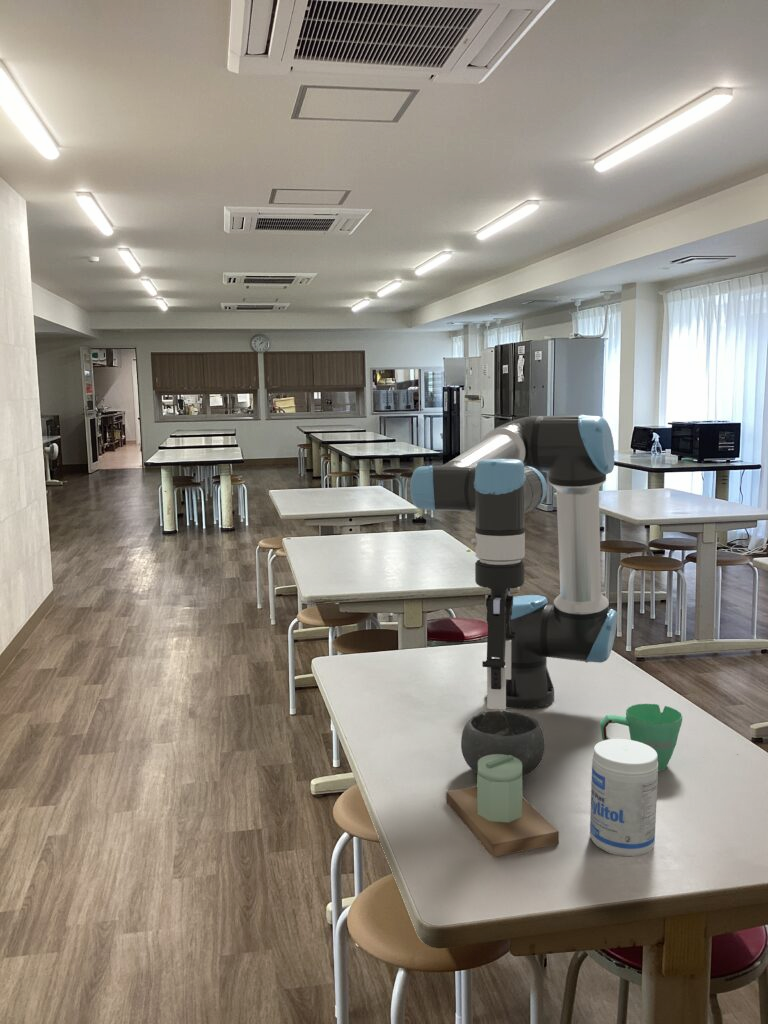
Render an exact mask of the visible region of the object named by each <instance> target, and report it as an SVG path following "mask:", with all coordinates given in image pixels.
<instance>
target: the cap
mask: <svg viewBox="0 0 768 1024" xmlns="http://www.w3.org/2000/svg"><path fill="white" fill-rule="evenodd" d="M476 774H477V775H476V776H477V777H476V779H477V780H476V781H477V782H476V783H477V784H476V786H477V814H478V815H480V816H482V817H483V818H485V819H487V820H489V821H493V822H511V821H513V820H516V819H518V818H521V817H522V797H523V777H522V762H521V761H520V760H519V759H517V758H515V757H514V756H512V755H503V754H493V755H487V756H484V757H482V758H480V759H479V760H478V773H476Z"/></svg>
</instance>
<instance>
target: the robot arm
mask: <svg viewBox="0 0 768 1024" xmlns="http://www.w3.org/2000/svg"><path fill="white" fill-rule="evenodd" d="M612 433H613V432H612V429H611V427H610V425H609V423H608V421H607V420H606V419H605V418H604V417H602V416H599V415H588V414H587V415H586V414H569V415H566V414H565V415H564V414H563V415H531V416H525V417H521V418H517V419H514V420H512V421H508V422H506V423H504V424H501V425H499V426H497V427H495V428H493V429H491V430H490V431H488V432H487V433H486V434H485V435H484V436H483V437H482V439H481V442H479V443H478V444H476V445H474V446H473V447H471V448H469V449H468V450H466V451H465V452H462V453H461V454H460V455H458V456H456V457H455V458H453V459H451V460H449V461H448V462H446V463H444V464H442V465H435V466H434V465H433V464H431V465H427V466H426V465H423V466H419V467H417V468H415V469H414V471H413V473H412V475H411V477H410V478H411V479H410V485H409V487H410V488H409V489H410V490H409V492H410V498H411V501H412V504H413V505H414V506H415V507H416V508H417V509H420V510H428V511H429V510H430V511H433V512H436V511H437V512H438V511H440V512H441V511H444V512H446V511H447V512H474V520H475V521H474V523H475V524H474V525H475V526H474V527H475V528H474V532H475V537H472V538H471V541H470V542H471V544H472V545H476V546H475V557H476V558H477V559H478V560H476V562H475V564H474V573H475V575H474V576H475V578H474V579H475V580H474V581H475V584H476V585H477V586H479V587H481V588H488V589H490V594H487V598H485V599H486V600H485V607H486V623H487V637H486V643H487V644H486V660H485V661H484V660H482V662H481V663H482V664H481V665H482V668H486V671H487V672H486V676H487V677H486V681H487V682H486V698H487V701H486V703H487V704H486V707H487V708H486V709H492V710H493V709H494V710H506V709H507V708H510V709H516V710H517V709H518V710H528V709H529V710H531V709H532V710H533V709H539V708H543V707H547V706H549V705H551V704H552V703H553V702H554V701H555V687H554V684H553V681H552V679H551V675H550V672H549V669H548V667H547V666H548V665H547V661H548V660H547V658H552V659H559V660H568V661H576V662H578V661H579V662H585V663H599V664H600V663H604V662H606V661H608V659H609V658H610V655H611V653H612V649H613V646H614V642H615V638H616V631H617V626H618V612H617V610H614V609H612V608H611V609H610V605H609V604H610V603H609V599H608V598H607V597H606V596H605V595H604V594H602V578H601V573H602V572H601V571H602V570H601V569H602V568H601V537H600V536H601V533H600V532H601V530H600V529H601V528H600V487H601V486H602V485H603V484H604V483H606V481H607V475H608V474H611V473H612V472H613V470H614V467H615V445H614V444H615V443H614V438H613V434H612ZM543 473H547V476H548V483H549V484H550V485H551V486H552V487H553V488H554V490H556V491H555V492H556V513H557V514H556V515H557V517H556V518H557V538H558V539H557V540H558V565H559V590H560V594H558V595H557V596H556V597H555V598H554V600H553V604H549V601H548V599H547V597H546V596H544V595H541V594H527V595H525V594H524V595H519V596H514V595H513V594H511V589H517V588H520V587H522V586H523V585H524V584H525V562H524V561H523V559H524V558H525V556H526V546H525V545H526V541H525V540H526V532H525V514H526V513H530V512H533V511H534V510H536V509H537V508H538V507H539V506H540V505H541V504H542V503H543V502H544V500H545V498H546V496H547V493H548V484H547V481H546V478H545V477H544V475H543Z"/></svg>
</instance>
